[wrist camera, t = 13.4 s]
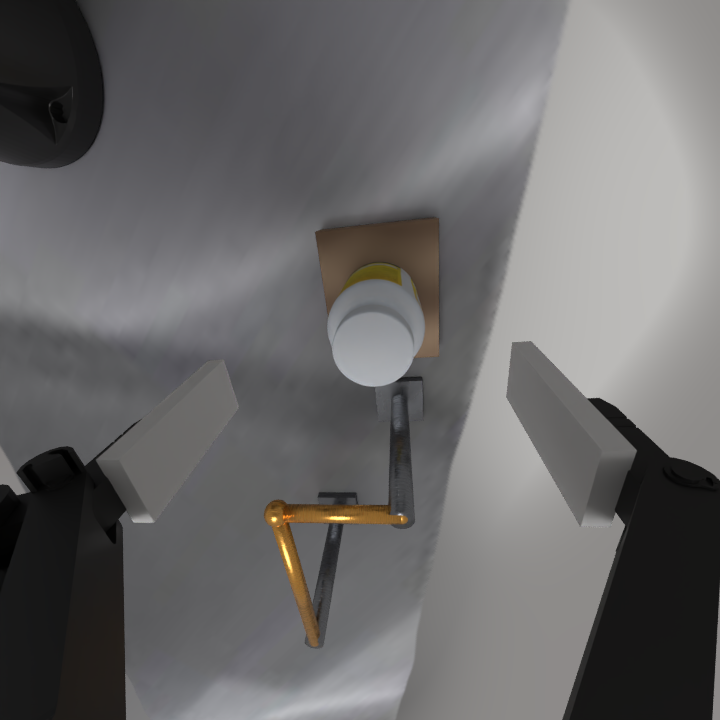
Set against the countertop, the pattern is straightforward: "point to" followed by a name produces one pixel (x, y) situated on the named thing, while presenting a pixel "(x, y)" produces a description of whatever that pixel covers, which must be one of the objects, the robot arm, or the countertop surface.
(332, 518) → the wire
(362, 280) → the pill bottle
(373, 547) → the countertop surface
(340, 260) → the pad
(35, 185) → the countertop surface
